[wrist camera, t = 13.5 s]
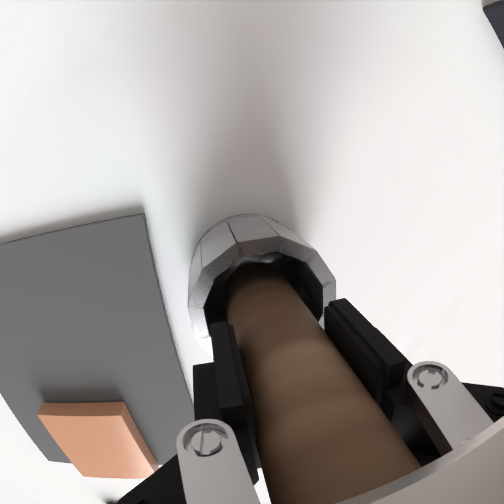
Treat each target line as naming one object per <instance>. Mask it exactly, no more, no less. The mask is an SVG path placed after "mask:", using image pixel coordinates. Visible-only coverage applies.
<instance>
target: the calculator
mask: <svg viewBox="0 0 504 504" xmlns="http://www.w3.org/2000/svg"><path fill="white" fill-rule="evenodd" d="M483 11H484V13H485V15H486V17H487V18H488V20H489V22H490V23H491V25H492V27H493V29H494V31H495V33H496V34H497V36H498V38H499V40H500V42H501V44H502V46H503V48H504V0H500V1H497V2H494V3H492V4H490V5H487V6H485V7H483Z"/></svg>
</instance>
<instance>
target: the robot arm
mask: <svg viewBox="0 0 504 504" xmlns="http://www.w3.org/2000/svg"><path fill="white" fill-rule="evenodd" d="M324 331H325V332H326V334H327V335H328V336H329V338H330V339H331V341H332V342H333V343H334V345H335V346H336V348H337V349H338V350H339V352H340V353H341V354H342V356H343V357H344V359H345V360H346V361H347V363H348V364H349V365H350V367H351V368H352V370H353V371H354V372H355V374H356V375H357V377H358V378H359V379H360V381H361V382H362V383H363V385H364V386H365V388H366V389H367V390H368V392H369V393H370V395H371V396H372V397H373V399H374V400H375V402H376V403H377V404H378V406H379V407H380V409H381V410H382V411H383V413H384V414H385V416H386V417H387V418H388V420H389V421H390V423H391V424H392V425H393V427H394V428H395V430H396V431H397V432H398V434H399V435H400V437H401V438H402V440H403V441H404V442H405V444H406V445H407V447H408V448H409V449H410V451H411V452H412V454H413V455H414V457H415V458H416V459H417V461H418V462H419V464H420V465H421V466H422V468H420V469H418V470H416V471H414V472H412V473H410V474H408V475H405V476H403V477H401V478H399V479H397V480H395V481H392V482H390V483H388V484H386V485H383V486H381V487H378V488H376V489H374V490H371V491H368V492H366V493H363V494H361V495H358V496H355V497H353V498H350V499H347V500H344V501H341V502H338V503H335V504H504V388H502V387H495V386H486V385H478V384H470V383H463V382H460V381H459V380H458V378H457V377H456V376H455V375H454V374H453V373H452V371H451V370H450V369H449V368H448V367H446V366H445V365H443V364H441V363H438V362H434V361H424V362H419V363H417V364H415V365H412V364H411V363H410V362H409V361H408V360H407V359H406V358H405V356H404V355H403V354H402V353H401V352H400V351H399V350H398V349H397V348H396V347H395V346H394V345H393V344H392V343H391V342H390V341H389V340H388V339H387V338H386V337H385V336H384V335H383V334H382V333H381V332H380V331H379V330H378V329H377V328H375V327H374V326H373V325H372V324H371V323H370V322H369V321H368V320H367V319H366V318H365V317H364V316H363V315H362V314H361V313H360V312H359V311H358V310H357V309H356V308H355V307H354V306H353V305H352V304H351V303H350V302H349V301H348V300H347V299H345V298H342V299H338V300H334V301H330V302H329V304H328V306H325V307H324ZM210 333H211V342H212V351H213V360H214V362H212V363H205V364H199V365H193V393H194V418H195V422H192V423H190V424H188V425H187V426H185V427H184V428H183V429H182V430H181V431H180V432H179V435H178V437H177V442H176V446H177V454H176V455H175V456H173V457H172V458H171V459H170V460H169V461H167V462H166V463H165V464H164V465H163V466H161V467H160V468H159V469H158V470H156V471H155V472H154V473H153V474H152V475H150V476H149V477H148V478H146V479H145V480H144V481H143V482H141V483H140V484H139V485H138V486H136V487H135V488H134V489H132V490H131V491H130V492H128V493H127V494H126V495H124V496H123V497H122V498H121V499H120V500H119V501H118V502H117V503H116V504H260V501H259V499H258V496H257V494H256V491H255V489H254V485H255V484H256V483H257V482H258V480H259V477H258V472H257V468H262V467H261V463H260V459H259V455H258V451H257V447H256V437H257V428H256V422H255V416H254V411H253V405H252V401H251V396H250V392H249V389H248V385H247V381H246V377H245V373H244V369H243V365H242V361H241V356H240V352H239V348H238V344H237V340H236V336H235V331H234V327H233V325H228V326H226V322H220V323H213V324H210Z"/></svg>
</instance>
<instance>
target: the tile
mask: <svg viewBox="0 0 504 504" xmlns="http://www.w3.org/2000/svg"><path fill="white" fill-rule="evenodd" d="M37 415H38V417H39V418H40V420H41V421H42V423H43V424H44V426H45V427H46V429H47V430H48V432H49V433H50V434H51V436H52V437H53V439H54V440H55V441H56V443H57V444H58V445H59V447H60V448H61V449H62V451H63V452H64V453H65V454H66V456H67V457H68V458H69V460H70V461H71V462H72V463H73V464H74V466H75V467H76V468H77V469H78V470H79V472H80V473H81V474H82V475H83V476H85V477H100V478H148V477H149V476H150V475H152V474H153V473H154V472H155V471H156V470H158V467H159V465H158V464H157V462H156V460H155V458H154V457H153V455H152V453H151V452H150V450H149V448H148V446H147V445H146V443H145V441H144V439H143V437H142V436H141V434H140V432H139V430H138V428H137V426H136V424H135V422H134V421H133V419H132V417H131V415H130V413H129V411H128V409H127V407H126V405H125V403H124V401H122V402H101V403H42V405H41V407H40V409H39V412H38V414H37Z"/></svg>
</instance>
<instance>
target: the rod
mask: <svg viewBox="0 0 504 504" xmlns="http://www.w3.org/2000/svg"><path fill="white" fill-rule="evenodd" d="M223 300H224V305H225V310H226V315H227V320H228V325H233V327H234V331H235V336H236V340H237V344H238V348H239V352H240V356H241V361H242V365H243V369H244V373H245V377H246V381H247V385H248V389H249V392H250V396H251V401H252V405H253V411H254V416H255V422H256V428H257V437H256V447H257V451H258V455H259V459H260V463H261V467H262V470H263V474H264V478H265V482H266V486H267V489H268V493H269V497H270V501H271V504H335V503H338V502H341V501H344V500H347V499H350V498H353V497H355V496H358V495H361V494H363V493H366V492H368V491H371V490H374V489H376V488H378V487H381V486H383V485H386V484H388V483H390V482H392V481H395V480H397V479H399V478H401V477H403V476H405V475H408V474H410V473H412V472H414V471H416V470H418V469H420V468H422V466H421V465H420V464H419V462H418V461H417V459H416V458H415V457H414V455H413V454H412V452H411V451H410V449H409V448H408V447H407V445H406V444H405V442H404V441H403V440H402V438H401V437H400V435H399V434H398V432H397V431H396V430H395V428H394V427H393V425H392V424H391V423H390V421H389V420H388V418H387V417H386V416H385V414H384V413H383V411H382V410H381V409H380V407H379V406H378V404H377V403H376V402H375V400H374V399H373V397H372V396H371V395H370V393H369V392H368V390H367V389H366V388H365V386H364V385H363V383H362V382H361V381H360V379H359V378H358V377H357V375H356V374H355V372H354V371H353V370H352V368H351V367H350V365H349V364H348V363H347V361H346V360H345V359H344V357H343V356H342V354H341V353H340V352H339V350H338V349H337V348H336V346H335V345H334V343H333V342H332V341H331V339H330V338H329V336H328V335H327V334H326V332H325V331H324V330H323V328H322V327H321V326H320V324H319V323H318V321H317V320H316V319H315V317H314V316H313V315H312V313H311V312H310V310H309V309H308V308H307V306H306V305H305V304H304V302H303V301H302V300H301V298H300V297H299V295H298V294H297V293H296V291H295V290H294V289H293V287H292V286H291V285H290V283H289V282H288V281H287V279H286V278H285V276H284V275H283V274H282V273H281V271H280V270H278V269H277V268H276V267H274V266H272V265H270V264H267V263H263V262H253V263H248V264H245V265H243V266H241V267H239V268H238V269H236V270H235V271H234V272H233V273H232V274H231V275H230V276H229V277H228V279H227V281H226V283H225V285H224V289H223Z"/></svg>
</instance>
